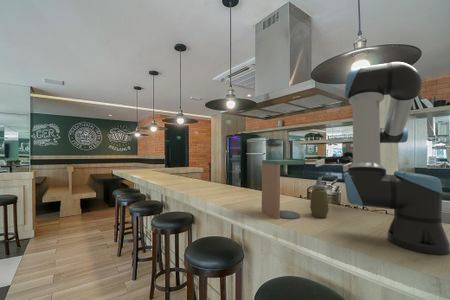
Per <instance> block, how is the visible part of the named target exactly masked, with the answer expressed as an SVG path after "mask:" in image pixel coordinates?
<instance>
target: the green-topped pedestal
mask: <svg viewBox="0 0 450 300" xmlns="http://www.w3.org/2000/svg"><path fill="white" fill-rule="evenodd" d="M305 161H306V159H305V158H288V157H287V158H286V159H261V213H262V214H265V215H267V216H270V217H272V218H274V219H276V220H279V219H281V218H280V211H281V206H280V205H281V204H280V203H281V166H283V165H285V166H289V165H291V166H292V165H306V162H305Z"/></svg>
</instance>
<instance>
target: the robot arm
mask: <svg viewBox="0 0 450 300" xmlns="http://www.w3.org/2000/svg"><path fill="white" fill-rule="evenodd" d="M422 85H423V82H422V78H421V75H420V73H419V71H418V70H417V69H416V68H415V67H414V66H412V65H411V64H408V63H406V62H402V61H392V62H388V63H381V64H374V65H369V66H368V65H367V66H359V67H357V68H353V69H350V70H349V71H348V73H347V74H346V80H345V87H344V88H345V89H344V99H346V100H348V103H349V104H350V105H351V106H352V149H351V150H349V151H345V152H344V153H343V154H342V155H341V156H337V155H331V156H323V157H318V159H319V160H315V161H314V162H315V165H314V166H315V167H316V168H318V167H320V166H324V165H326V164H337V165H339V164H342V172H344V173H343V177H344V185H345V191H346V193H345V194H346V198H347V202H348V203H349V204H351V205H356V206H360V207H369V208H370V207H371V208H378V209H379V208H380V209H387V210H393V211H394V212H393V214H394V215H393V218H392V221H391V223H390V225H389V227H388V230H387V240H388V241H389V242H391V243H392V244H394V245H396V246H399V247H401V248H403V249H407V250H410V251H414V252H418V253H423V254H430V255H447V254H449V253H450V242H449V239H448V237H447V235H446V232H445V229H444V227H443V224H442V216H443V215H442V210H443V209H442V208H443V203H442V202H443V201H442V200H443V199H442V198H443V188H442V182H441V180H440V178H439V177H436V176H432V175H428V174H424V173H423V174H422V173H415V172H409V171H401V170H395V171H394V172H393V174H387V169H386V168H385V167H384V166H383V165H382V164H381V144H398V143H399V144H401V143H406V142H407V141H408V137H409V130H408V128H407V127H406V125H407V121H408V118H409V115H410V113H411V109H412V106H413V103H414V101H415V99H416V98H417V97H419V95H420V94H421V91H422V87H423V86H422ZM387 95H388V96H390V100H389V103H388V104H389V105H388V109H387V114H386V120H385V122H384V123H385V125H384V128H383V127H382V128H381V127H380V126H381V125H380V103H381V102H382V101H383V100H384V99H385V96H387Z"/></svg>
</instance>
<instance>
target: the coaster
mask: <svg viewBox="0 0 450 300" xmlns="http://www.w3.org/2000/svg"><path fill="white" fill-rule="evenodd" d="M280 219H285V220H297V219H301V214H300V213H299V212H297V211H293V210H281V209H280Z"/></svg>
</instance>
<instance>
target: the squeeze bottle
mask: <svg viewBox="0 0 450 300" xmlns="http://www.w3.org/2000/svg"><path fill="white" fill-rule="evenodd" d="M325 186H326V185H323V182H322V177H320V176H319V177H317V180H316V184H313V189H312V190H311V196H310V207H309V209H310V212H311V216H313V217H315V218H319V219H320V218H322V219H323V218H326V217H327V215H328V213H329V209H330V207H329V201H328V200H329V199H328V191H327V190H326V188H325Z"/></svg>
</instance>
